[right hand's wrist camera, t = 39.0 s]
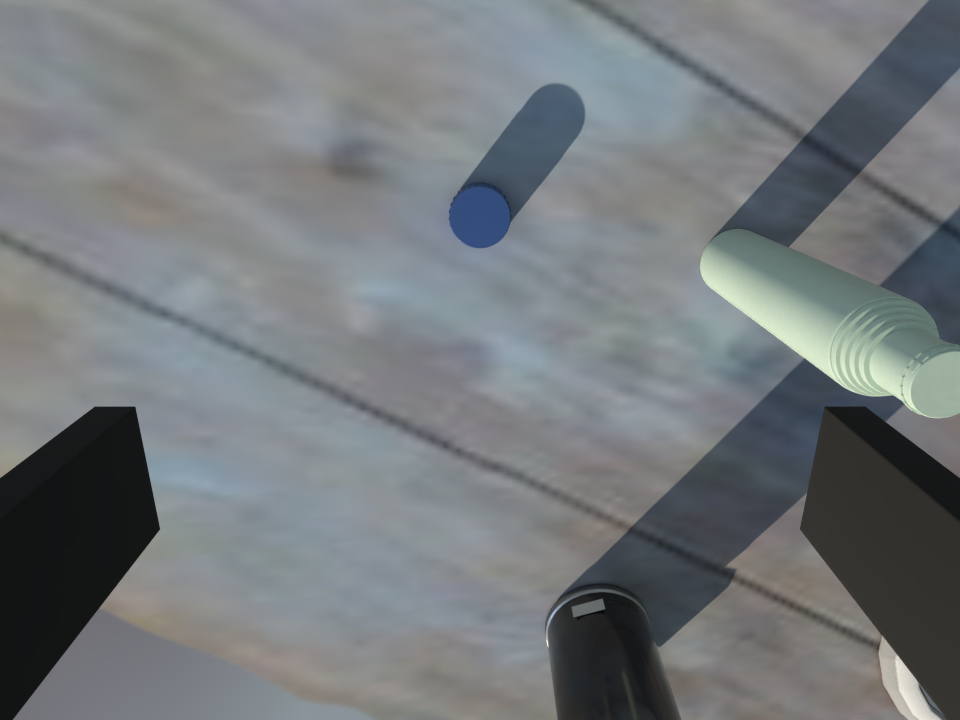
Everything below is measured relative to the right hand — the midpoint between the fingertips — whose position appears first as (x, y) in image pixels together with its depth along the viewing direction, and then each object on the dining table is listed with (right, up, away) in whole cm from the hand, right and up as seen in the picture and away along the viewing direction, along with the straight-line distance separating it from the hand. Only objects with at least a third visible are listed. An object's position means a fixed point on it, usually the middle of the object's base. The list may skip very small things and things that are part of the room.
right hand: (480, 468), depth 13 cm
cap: (0, +12, +32) cm, 34 cm away
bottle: (+19, +9, +35) cm, 41 cm away
